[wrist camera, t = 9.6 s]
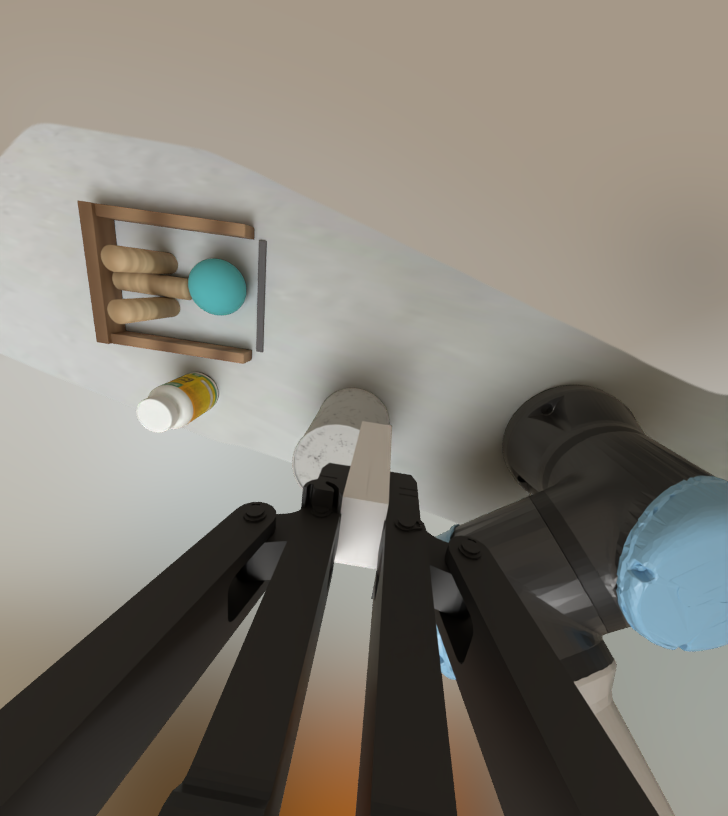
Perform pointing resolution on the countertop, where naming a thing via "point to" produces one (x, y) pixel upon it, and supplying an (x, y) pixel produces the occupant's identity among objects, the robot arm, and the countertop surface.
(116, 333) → the frame
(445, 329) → the countertop surface
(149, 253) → the pin
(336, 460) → the speckled white cylinder
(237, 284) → the ball
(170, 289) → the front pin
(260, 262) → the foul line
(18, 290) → the countertop surface
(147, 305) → the pin
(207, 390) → the supplement bottle
